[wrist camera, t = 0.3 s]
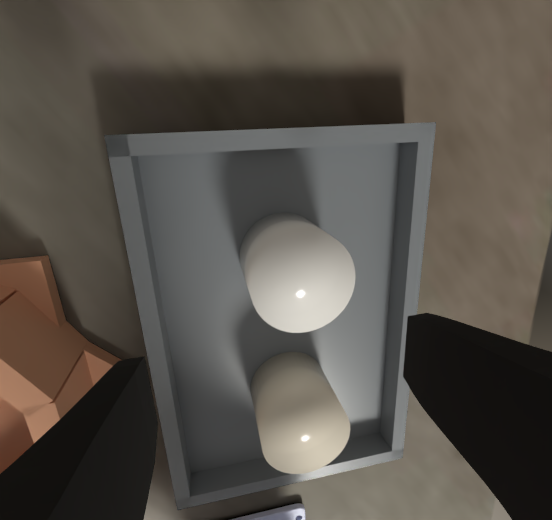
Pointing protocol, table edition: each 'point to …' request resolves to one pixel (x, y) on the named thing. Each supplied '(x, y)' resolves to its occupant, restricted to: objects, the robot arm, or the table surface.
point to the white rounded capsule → (296, 273)
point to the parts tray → (235, 295)
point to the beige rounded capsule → (297, 414)
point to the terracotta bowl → (39, 356)
